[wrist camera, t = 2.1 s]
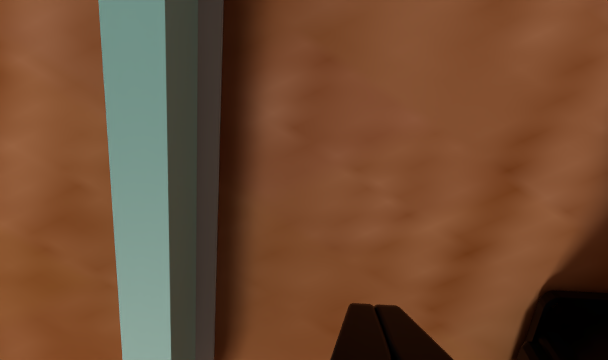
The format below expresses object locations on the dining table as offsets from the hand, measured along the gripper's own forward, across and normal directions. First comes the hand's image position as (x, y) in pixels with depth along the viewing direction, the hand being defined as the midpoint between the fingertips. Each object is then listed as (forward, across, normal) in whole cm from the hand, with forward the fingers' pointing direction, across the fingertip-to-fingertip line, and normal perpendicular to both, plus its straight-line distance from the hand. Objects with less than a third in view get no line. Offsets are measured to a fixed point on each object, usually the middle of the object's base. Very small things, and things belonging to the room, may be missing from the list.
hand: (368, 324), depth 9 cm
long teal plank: (+7, +5, +1) cm, 9 cm away
